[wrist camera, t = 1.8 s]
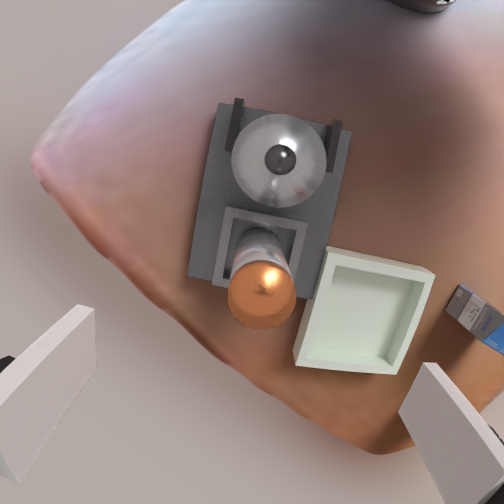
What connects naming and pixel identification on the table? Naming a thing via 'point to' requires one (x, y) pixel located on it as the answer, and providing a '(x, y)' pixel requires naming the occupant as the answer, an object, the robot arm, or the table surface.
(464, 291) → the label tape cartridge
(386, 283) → the tray
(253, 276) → the copper capped bottle
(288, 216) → the grey holder rack
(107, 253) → the table surface
